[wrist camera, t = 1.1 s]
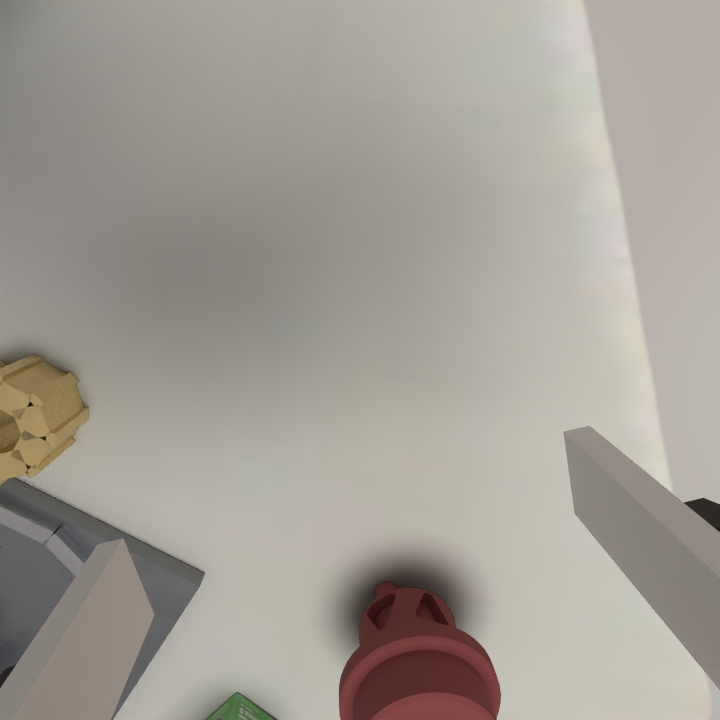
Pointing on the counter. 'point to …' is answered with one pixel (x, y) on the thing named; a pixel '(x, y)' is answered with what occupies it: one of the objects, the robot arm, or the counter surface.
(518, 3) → the counter surface
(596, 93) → the counter surface
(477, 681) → the mechanical component
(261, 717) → the ink box
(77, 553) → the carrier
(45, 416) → the planet gear
